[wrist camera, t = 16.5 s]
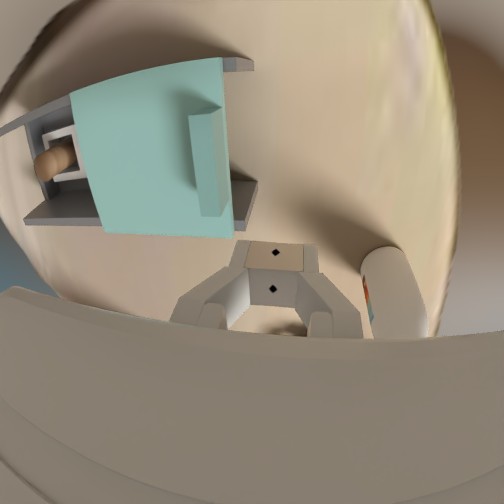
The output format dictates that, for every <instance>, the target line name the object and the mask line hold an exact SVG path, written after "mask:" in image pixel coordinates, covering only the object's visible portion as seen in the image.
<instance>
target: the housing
mask: <svg viewBox="0 0 504 504" xmlns="http://www.w3.org/2000/svg"><path fill="white" fill-rule="evenodd" d="M222 61H223V72H235V71H254V61H252V60H248V59H244V58H239V57H227V58H222ZM22 125H24V126H25V130H26V135H27V139H28V144H29V148H30V152H31V155H32V159H33V163H34V159H35V157H36V156H37V155H39V154H40V153H42V152H44V151H46V150H47V149H49V148H51V147H53V146H55V145H56V144H58V143H60V142H62V141H64V140H66V139H68V138H70V137H72V138H73V143H74V147H75V151H76V155H77V159H78V161H77V162H75V163H74V164H72V165H71V166H69V167H67V168H66V169H64V170H63V171H61V172H60V173H59V174H57V175H56V176H54V177H53V178H51V179H50V180H49V181H46V182H45V181H42V180H41V179H39V177H38V179H39V183H40V186H41V189H42V192H43V195H44V197H45V200H44V201H43V202H42V203H41V204H40V205H38V206H37V207H36V208H35V209H34V210H33V211H31V212H30V213H29V214H28V215H27V216H26V217H25V218H24V219H23V220H24V222H25V225H55V226H102V223H101V220H100V217H99V214H98V211H97V208H96V205H95V202H94V199H93V195H92V192H91V189H90V185H89V182H88V178H87V175H86V171H85V167H84V163H83V159H82V155H81V151H80V147H79V142H78V138H77V133H76V128H75V123H74V118H73V112H72V106H71V100H70V94H68V95H66V96H63V97H61V98H58V99H56V100H54V101H51V102H49V103H47V104H45V105H43V106H41V107H38V108H36V109H34V110H32V111H30V112H28V113H26V114H24V115H23V116H21V117H19V118H17V119H15V120H13V121H12V122H10V123H8V124H6V125H5V126H3V127H1V128H0V136H2V135H4V134H6V133H8V132H10V131H12V130H14V129H16V128H18V127H20V126H22ZM230 182H231V194H232V207H233V219H234V231H246V227H247V224H248V221H249V217H250V214H251V211H252V207H253V204H254V201H255V198H256V194H257V191H258V181H230Z"/></svg>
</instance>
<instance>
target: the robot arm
mask: <svg viewBox="0 0 504 504" xmlns="http://www.w3.org/2000/svg"><path fill="white" fill-rule="evenodd" d="M250 305H264V306H278V307H288V308H295V310H296V312H297V313H298V315H299V317H300V318H301V320H302V321H303V323H304V325H305V326H306V328H307V330H308V332H307V337H300V336H285V335H273V334H261V333H251V332H241V331H232V330H228V328H229V327H230V326H231V325H232V324H233V323H234V322H235V321H236V320H237V319H238V318H239V317H240V316H241V315H242V314H243V313H244V312H245V311H246V310H247V309H248V308H249V307H250ZM0 504H504V330H503V331H495V332H487V333H478V334H468V335H457V336H443V337H425V338H396V339H364V338H363V330H362V323H361V315H360V312H359V311H358V310H357V309H356V308H355V307H354V306H353V304H352V303H351V302H350V301H349V300H348V299H347V298H346V297H345V296H344V295H343V294H342V293H341V292H340V291H339V290H338V289H337V287H336V286H335V285H334V284H333V283H332V282H331V281H330V280H329V279H328V278H327V277H326V276H325V275H324V274H323V273H319V265H318V249H317V245H316V244H287V243H275V242H262V241H249V240H238V241H237V242H236V245H235V248H234V252H233V255H232V258H231V261H230V264H229V267H223V268H222V269H221V270H219V271H218V272H216V273H215V274H213V275H212V276H210V277H209V278H207V279H206V280H205V281H203V282H202V283H200V284H199V285H197V286H196V287H194V288H193V289H192V290H190V291H189V292H187V293H186V294H184V295H183V296H181V297H180V298H179V299H178V302H177V304H176V306H175V308H174V311H173V313H172V315H171V318H170V320H169V322H167V321H161V320H155V319H150V318H144V317H139V316H134V315H129V314H124V313H119V312H114V311H110V310H105V309H101V308H96V307H92V306H88V305H84V304H79V303H75V302H71V301H68V300H64V299H60V298H56V297H53V296H49V295H45V294H42V293H39V292H35V291H32V290H28V289H25V288H22V287H19V286H13V287H10V288H9V289H7V290H5V291H4V292H2V293H1V294H0Z"/></svg>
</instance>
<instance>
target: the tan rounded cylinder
mask: <svg viewBox="0 0 504 504" xmlns="http://www.w3.org/2000/svg"><path fill="white" fill-rule="evenodd" d="M77 161H78V159H77V155H76V151H75V147H74V143H73V138H72V137H70V138H68V139H66V140H64V141H62V142H60V143H58V144H56V145H55V146H53V147H51V148H49V149H47V150H46V151H44V152H42V153H40V154H39V155H37V156H36V157H35V159H34V169H35V172H36V174H37V176H38V177H39V179H41V180H42V181H45V182H46V181H49V180H50V179H51V178H53V177H54V176H56V175H57V174H59V173H60V172H61V171H63V170H64V169H66V168H67V167H69V166H71V165H72V164H74V163H75V162H77Z"/></svg>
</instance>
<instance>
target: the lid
mask: <svg viewBox="0 0 504 504" xmlns="http://www.w3.org/2000/svg"><path fill="white" fill-rule="evenodd" d="M70 100H71V106H72V112H73V118H74V123H75V128H76V133H77V138H78V142H79V147H80V151H81V155H82V159H83V163H84V167H85V171H86V175H87V178H88V182H89V185H90V189H91V192H92V195H93V199H94V202H95V205H96V208H97V211H98V214H99V217H100V220H101V223H102V226H103V229H104V232H105V233H127V234H150V235H173V236H194V237H214V238H233V236H234V233H235V231H234V219H233V207H232V194H231V182H230V168H229V155H228V141H227V126H226V111H225V95H224V78H223V61H222V58H221V57H216V58H207V59H199V60H192V61H185V62H179V63H174V64H168V65H163V66H158V67H153V68H149V69H145V70H140V71H136V72H132V73H129V74H125V75H121V76H118V77H114V78H111V79H108V80H105V81H102V82H99V83H96V84H93V85H90V86H87V87H84V88H81V89H79V90H76V91H74V92H71V93H70Z"/></svg>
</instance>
